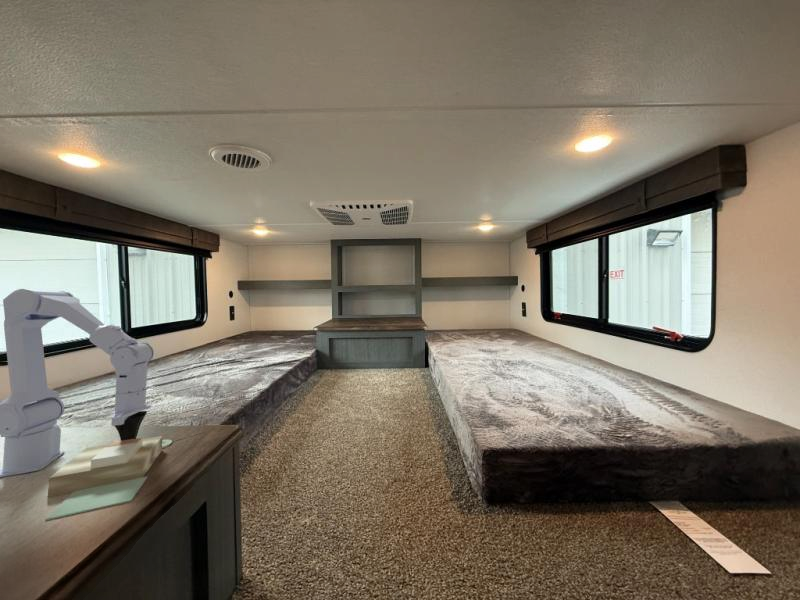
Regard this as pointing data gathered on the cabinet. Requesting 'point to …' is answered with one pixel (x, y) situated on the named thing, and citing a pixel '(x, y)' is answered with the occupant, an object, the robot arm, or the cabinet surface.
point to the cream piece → (102, 469)
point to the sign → (166, 443)
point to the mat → (98, 498)
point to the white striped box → (116, 453)
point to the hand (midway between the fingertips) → (128, 443)
